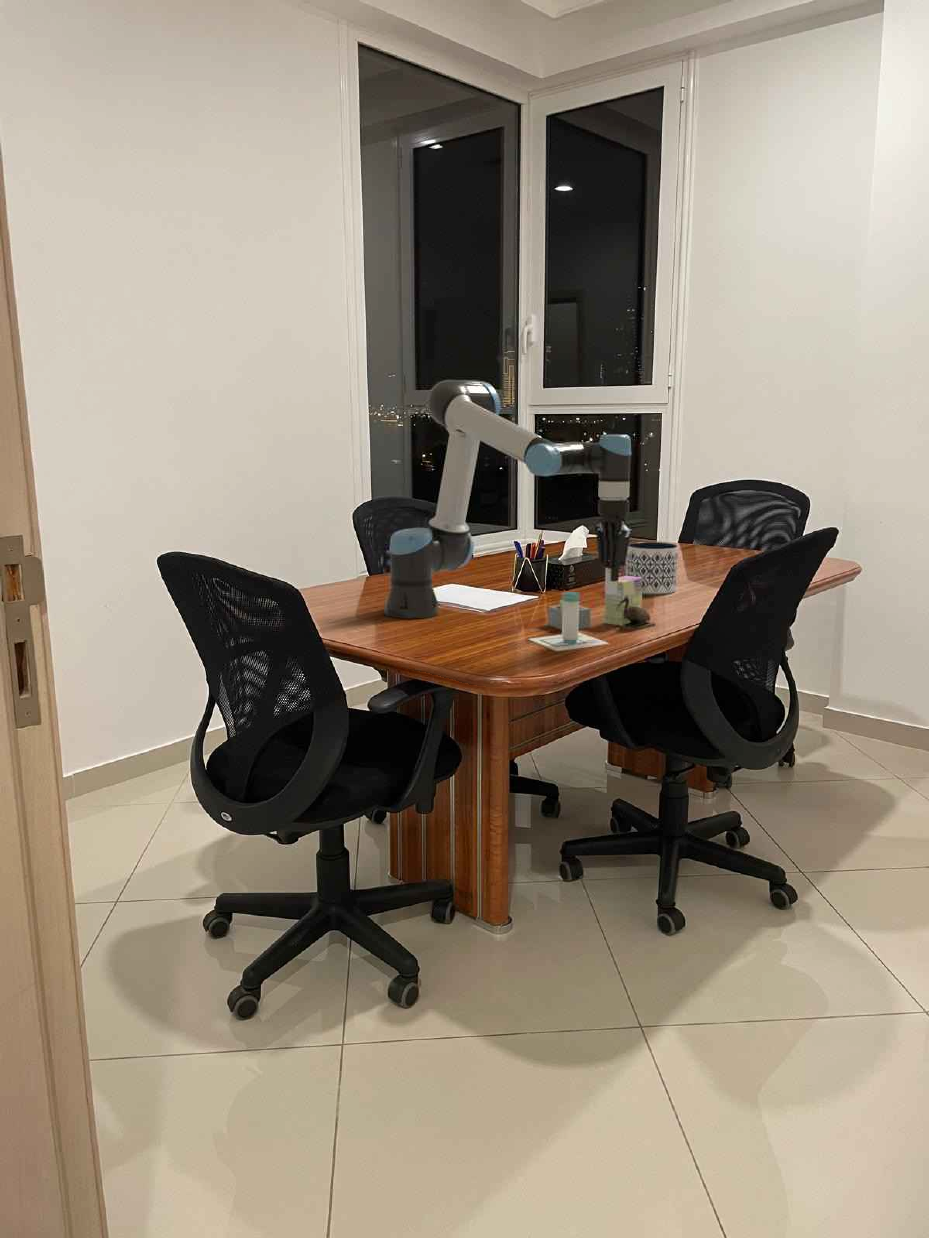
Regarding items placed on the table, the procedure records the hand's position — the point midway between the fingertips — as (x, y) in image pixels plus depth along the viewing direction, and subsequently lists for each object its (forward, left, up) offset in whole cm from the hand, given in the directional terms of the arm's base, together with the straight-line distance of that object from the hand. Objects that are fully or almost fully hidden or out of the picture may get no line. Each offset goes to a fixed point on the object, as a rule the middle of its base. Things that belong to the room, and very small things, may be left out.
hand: (611, 593), depth 239 cm
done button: (-3, +14, -10) cm, 18 cm away
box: (+13, +12, -11) cm, 21 cm away
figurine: (+11, +5, -11) cm, 16 cm away
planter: (+49, +46, -11) cm, 68 cm away
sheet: (-13, -1, -11) cm, 17 cm away
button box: (-3, +14, -11) cm, 18 cm away
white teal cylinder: (-14, -2, -11) cm, 17 cm away
